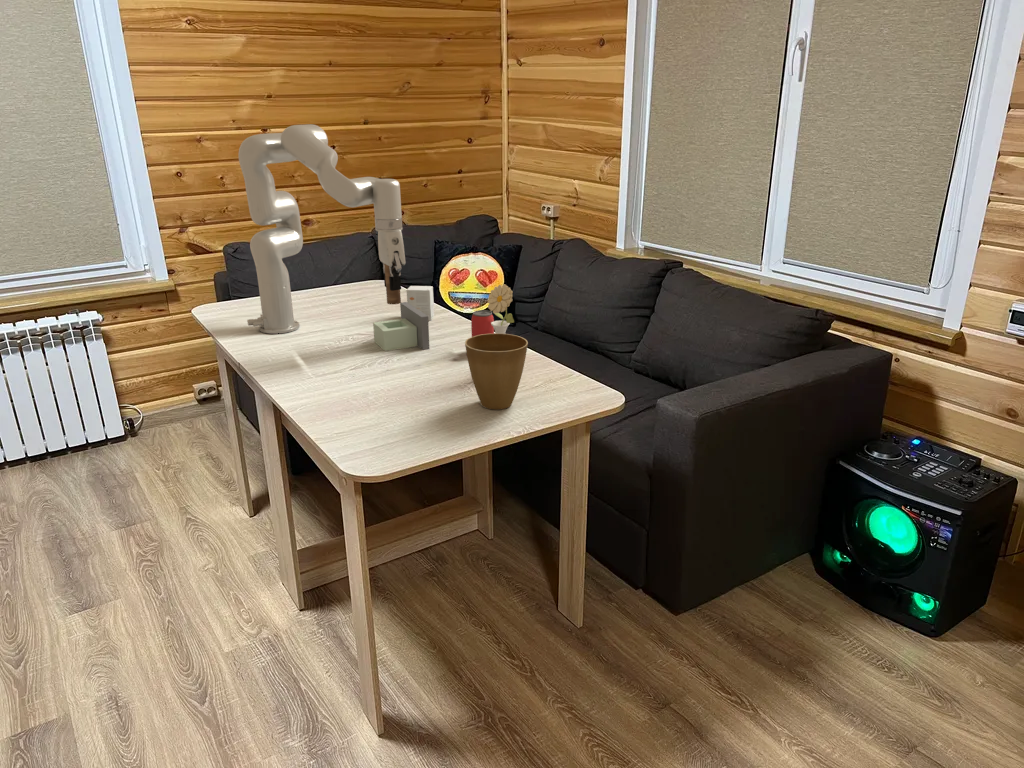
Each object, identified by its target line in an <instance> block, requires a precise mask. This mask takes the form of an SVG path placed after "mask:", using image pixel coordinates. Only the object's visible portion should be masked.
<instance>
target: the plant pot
mask: <svg viewBox="0 0 1024 768" xmlns="http://www.w3.org/2000/svg"><path fill="white" fill-rule="evenodd" d="M528 345H529V342H528V340H527V339H526V338H524V337H522V336H519V335H515V334H512V333H511V334H509V333H505V334H500V333H495V332H494V334H482V335H477V336H473V337H472V336H471V337H468V338H467V339H466V340H465V342H464V346H465V352H466V357H467V361H468V362H467V363H468V366H469V367H468V368H469V371H470V376H471V379H472V382H473V385H474V389H475V391H476V392H475V393H476V394H477V397H478V399H479V402H480V404H481V406H482V407H483V408H485V409H488V410H505V409H508V408H510V407H511V406H512V404H513V402H514V399H515V398H516V394H517V391H518V389H519V386H520V383H521V379H522V375H523V371H524V367H525V362H526V356H527V350H528Z"/></svg>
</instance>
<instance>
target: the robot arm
mask: <svg viewBox="0 0 1024 768" xmlns="http://www.w3.org/2000/svg"><path fill="white" fill-rule="evenodd" d="M237 157H238V162H239V166H240V169H241V173H242V176H243V179H244V184H245V185H244V186H245V194H246V198H247V205H248V210H249V216H250V218H251V221H252V222H253V223H254V224H256V225H259V226H269V225H274V224H275V225H276V227H272V228H267V229H263V230H260V231H258V232H256V233H255V234H254V235H253V236H252V238H250V242H249V247H250V253H251V255H252V258H253V262H254V266H255V270H256V275H257V276H256V277H257V283H258V290H259V291H258V292H259V299H260V307H261V314H260V315H259V317H257V318H255V319H254V318H250V319H247V320H246V321H247V325H248V326H249V327H251V326H253V327H258V330H259V332H261V333H264V334H272V335H273V334H275V335H276V334H277V335H278V333H279V334H286V333H291V332H294V331H296V330H298V329H299V328H300V322H299V321H297V320H295V319H294V318H295V316H294V310H293V309H294V308H293V302H292V301H293V299H292V290H291V283H290V275H289V274H290V273H289V271H288V268H287V266H286V264H285V263H284V261H283V259H285V258H288V257H292V256H295V255H297V254H298V253H300V252H301V251H302V248H303V245H304V237H303V230H302V222H301V214H300V208H299V205H298V202H297V200H296V197H294V196H293V195H292V194H291V193H290V192H288V191H286V190H276V185H275V178H274V176H273V174H272V172H271V170H270V169H269V168H268V166H267V165H270V164H271V165H272V164H279V163H280V164H281V163H290V162H295V161H298V162H299V163H301V164H302V165H304V166H305V167H306V168H308V169H309V170H311V171H312V172H313V173H314V174H315V175H317V179H318V182H319V184H320V186H321V187H322V189H323V190H324V191H325V193H326V194H327V195H329V196H330V197H331V198H333V199H334V200H336V202H338V203H340V204H341V205H343V206H344V207H348V208H357V207H361V206H362V207H363V206H368V205H372V204H373V208H374V209H373V211H374V212H373V213H374V225H375V228H374V229H375V231H376V232H377V247H378V258H379V259H378V260H380V262H381V263H382V266H383V267H382V269H383V270H382V271H383V280H384V281H383V282H384V287H385V288H386V280H385V265H384V264H386V265H388V266H389V269H390V276H391V277H389V282H390V290H391V291H394V290H400V291H401V290H402V279H401V275H402V274H401V273H402V272H401V270H402V266H405V265H406V255H405V245H404V239H403V233H402V231H403V215H402V214H403V213H402V200H401V199H402V198H401V197H402V196H401V183H400V182H399V181H398V180H397V179H394V178H378V177H374V176H363V177H357V178H356V177H355V178H348V177H347V176H345V175H344V174H343V173H341V172H340V171H338V170H337V169H336V168H337V164H338V159H339V157H338V153H337V152H336V150H335V149H333V148H332V147H331V146H329V139H328V135H327V133H326V131H325V130H324V129H323V128H322V127H320V126H319V125H317V124H310V123H309V124H308V123H306V124H294V125H293V124H292V125H290V126H288V127H286V128H284V130H283V131H282V132H272V133H269V132H268V133H258V134H253V135H251V136H250V135H249V136H248V137H246V138H245V139H244V140H243V141H242V142H241V144H240V146H239V149H238V156H237ZM393 263H395V265H394V266H392V265H393ZM392 268H395V269H392Z"/></svg>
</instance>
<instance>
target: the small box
mask: <svg viewBox="0 0 1024 768" xmlns="http://www.w3.org/2000/svg"><path fill="white" fill-rule="evenodd" d="M406 302H407V303H409V304H410V305H412V306H413V307H415V308H416V309H418V310H419V311H421V312H422V313H424V314H425V315H427V316H428V321H432V320H433V318H434V317H435V301H434V287H433V286H431V285H410V286H409V287H408V288H407V289H406Z"/></svg>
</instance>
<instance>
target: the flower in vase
mask: <svg viewBox="0 0 1024 768" xmlns="http://www.w3.org/2000/svg"><path fill="white" fill-rule="evenodd" d="M513 293H514V292H513V290H512V289H511V287H509V286H508V285H507V284H502V285H501V284H498V285H497V286H495V287H494V289H492V290H490V293H489V294H488V298H487V299H488V300H487V308H488V309H489V311H491V312H492V314H494V315H495V316H496V317H498V318H500V319H501V320H494V321H493V322H491V325H492V326H493V328H494V333H500V334H506V331H507V330H508V327H509V325H510V324H512V323H515V319H514V317H513V314H512V313H508V307H510V304H511V303H512V302H513ZM504 312H505V314H504V317H503V315H502V314H501V313H504Z"/></svg>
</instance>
